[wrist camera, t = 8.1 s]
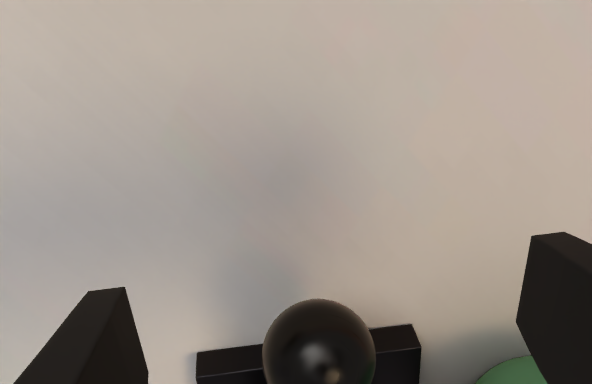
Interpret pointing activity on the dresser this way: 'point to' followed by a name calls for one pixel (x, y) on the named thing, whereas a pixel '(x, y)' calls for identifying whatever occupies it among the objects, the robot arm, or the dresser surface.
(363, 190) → the dresser surface
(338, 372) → the lever
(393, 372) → the bracket
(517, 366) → the green rounded piece
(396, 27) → the dresser surface
